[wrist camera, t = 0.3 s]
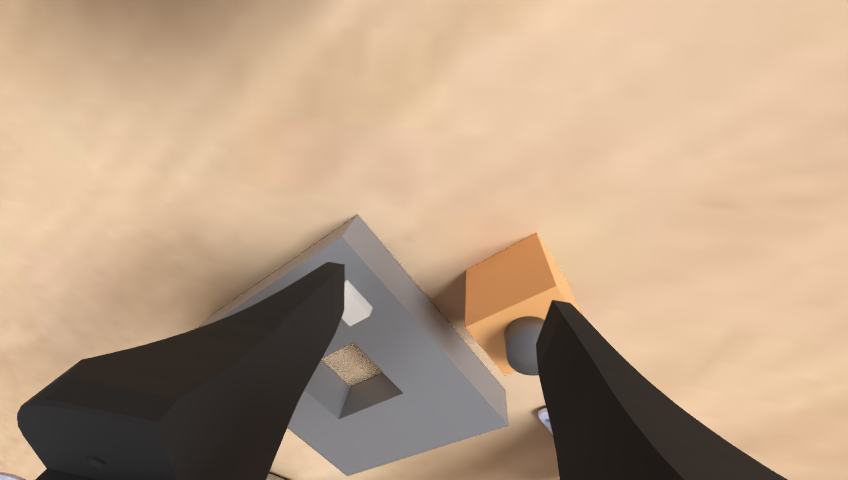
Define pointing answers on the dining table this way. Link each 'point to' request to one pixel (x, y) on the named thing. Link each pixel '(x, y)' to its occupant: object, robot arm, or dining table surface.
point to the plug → (514, 303)
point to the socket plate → (384, 362)
